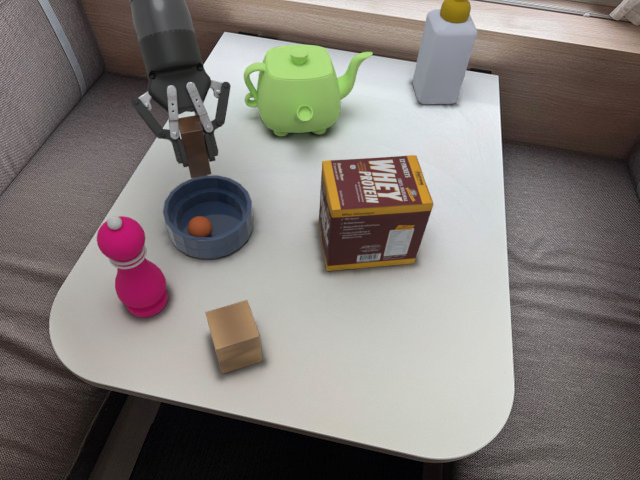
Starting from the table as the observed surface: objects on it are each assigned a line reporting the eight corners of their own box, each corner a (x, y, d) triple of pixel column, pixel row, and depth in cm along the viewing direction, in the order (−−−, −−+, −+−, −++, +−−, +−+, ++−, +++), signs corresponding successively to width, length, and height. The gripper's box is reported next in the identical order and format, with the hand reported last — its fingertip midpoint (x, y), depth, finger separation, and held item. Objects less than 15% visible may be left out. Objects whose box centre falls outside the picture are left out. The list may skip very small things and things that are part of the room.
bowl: (178, 270, 85) (172, 250, 81) (162, 207, 93) (156, 186, 89) (263, 247, 89) (262, 227, 84) (240, 188, 97) (238, 167, 92)
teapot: (249, 166, 100) (243, 98, 88) (244, 96, 113) (239, 28, 101) (376, 158, 103) (387, 92, 90) (357, 91, 116) (365, 25, 103)
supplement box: (316, 223, 92) (321, 159, 80) (401, 217, 94) (417, 153, 82) (325, 272, 86) (330, 210, 74) (415, 264, 88) (435, 202, 75)
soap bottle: (457, 105, 115) (492, -7, 95) (417, 105, 114) (444, -8, 94) (448, 80, 120) (480, -31, 100) (410, 81, 119) (434, -31, 99)
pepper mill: (114, 297, 81) (72, 215, 65) (155, 273, 84) (124, 188, 69) (138, 329, 78) (99, 250, 62) (180, 302, 81) (153, 221, 65)
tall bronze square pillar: (191, 178, 76) (180, 133, 68) (187, 163, 77) (176, 118, 70) (211, 174, 76) (202, 129, 69) (207, 159, 78) (198, 114, 71)
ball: (210, 243, 86) (186, 239, 85) (208, 239, 90) (184, 235, 89) (215, 220, 86) (190, 215, 84) (212, 217, 89) (189, 212, 88)
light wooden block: (222, 374, 74) (215, 349, 68) (212, 338, 78) (205, 311, 71) (262, 361, 76) (259, 336, 70) (250, 326, 79) (247, 299, 73)
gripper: (109, 36, 64) (147, 174, 67) (221, 19, 67) (253, 151, 70) (114, 51, 71) (148, 175, 74) (215, 35, 75) (244, 154, 77)
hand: (199, 163), depth 72 cm, fingers closed on tall bronze square pillar, 3 cm apart
